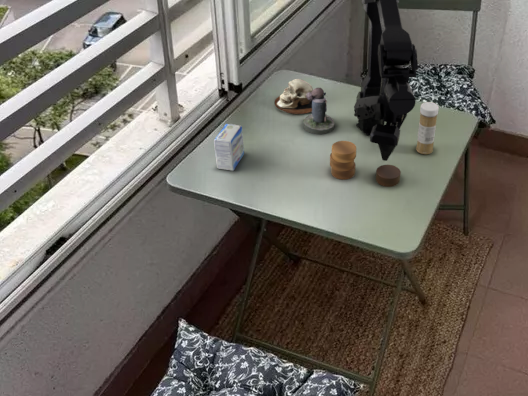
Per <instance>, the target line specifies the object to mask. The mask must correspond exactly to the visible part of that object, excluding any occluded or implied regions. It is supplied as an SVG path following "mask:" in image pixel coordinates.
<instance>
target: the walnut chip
mask: <svg viewBox="0 0 528 396" xmlns="http://www.w3.org/2000/svg"><path fill="white" fill-rule="evenodd" d="M401 173H402V171H401V169H400V168H399V167H398V166H396V165H393V164H382V165H380V166H378V167H377V168H376V171H375V181H376V183H377V184H378V185H380V186H382V187H386V188H391V187H395V186H398V185H399V184H400V182H401V176H402V175H401Z"/></svg>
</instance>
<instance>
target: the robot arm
mask: <svg viewBox="0 0 528 396" xmlns="http://www.w3.org/2000/svg"><path fill="white" fill-rule="evenodd" d="M399 3H400V0H361V4H362V5H363V9H364V11H365V13H366V15H367V18H369V20H368V21H369V22H368V23H369V24H368V49H367V50H368V51H367V52H368V53H367V74H366V75H365V77H364V78H363V80H362V81H361V83H360V91H358V93H357V95H356V96H355V98H356V101H355V103H354V105H353V111H354V113H353V115H354V117H356V118H357V120H358V121H357V122H356V124H355V126H356V128H358V129H359V130H360V131H361V132H362V133H364V134H365V135H366V136H368V137H369V142H370V143H371V144H377V145H378V149H379V152H380V156H381V160H382V161H383V162H388V160H389V158H390V157H391V155H392V153H393V151H394V150H395V149H396V147H397V146H398V144H399V141H400V136H401V127H402V125H403V124H404V122H405V120H406V118H407V116H408V114H409V113H410V112H412V110H413V109H414V108H415V106H416V97H415V95H414V92H413V90H412V87H411V85H410V78H416V77H417V71H418V70H419V61H418V51H417V48H416V45H415V44H414V43H413V42H412V41H413V40H412V38H411V34H410V33H409V32H407V30H405V29H404V28H403V24H402V20H401V13H400V9H399ZM409 65H410V67H404V66H409Z"/></svg>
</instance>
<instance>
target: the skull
mask: <svg viewBox="0 0 528 396" xmlns="http://www.w3.org/2000/svg"><path fill="white" fill-rule="evenodd" d="M287 85H288V86H287V87H285V88H284V91H283V92H282V93H281V94H280V95H279V96H278V97H276V98H275V99H274V106H275V107H276V108H277V109H278V110H280V111H281V112H284V113H288V114H292V115H301V114H303V115H304V114H309V113H312V101H313V100H308V99H307V97H306V94H307V93H308V92H312V91H313V90H314V88H313V85H311V84H310V83H309V82H307V81H306V80H304V79H301V78H295V79H292V80H290V81H289V82H288V84H287Z"/></svg>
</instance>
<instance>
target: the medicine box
mask: <svg viewBox="0 0 528 396" xmlns="http://www.w3.org/2000/svg"><path fill="white" fill-rule="evenodd" d="M213 145H214V154H215V160H216V161H215V162H216V163H215V164H216V169H218V170H219V169H220V170H224V171H231V172H234V170H235V169H236V168H237V166H238V164H239V163H240V161H241V159H242V158H243V156H244V155H245V150H244V149H245V148H244V135H243V126H242V125H238V124H234V123H225V125H224V126H223V127H222V129H221V130H220V131H219V132H218V134H217V135H216V136H215V138H214V139H213Z"/></svg>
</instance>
